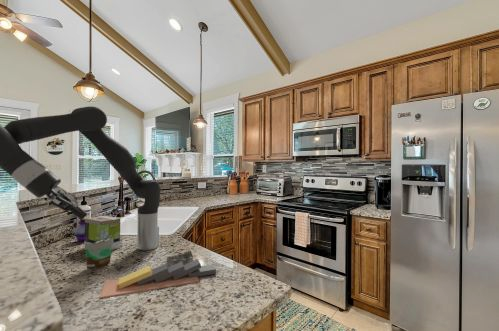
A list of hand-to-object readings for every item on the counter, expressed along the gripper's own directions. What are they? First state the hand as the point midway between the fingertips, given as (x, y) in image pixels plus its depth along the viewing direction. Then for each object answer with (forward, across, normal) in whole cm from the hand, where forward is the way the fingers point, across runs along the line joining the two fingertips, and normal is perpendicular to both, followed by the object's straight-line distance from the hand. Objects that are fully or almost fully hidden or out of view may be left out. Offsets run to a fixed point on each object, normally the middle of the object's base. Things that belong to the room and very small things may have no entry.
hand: (84, 216), depth 80 cm
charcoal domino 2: (+31, 0, +1) cm, 31 cm away
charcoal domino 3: (+35, 0, -3) cm, 35 cm away
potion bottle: (+8, +66, +26) cm, 71 cm away
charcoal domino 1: (+27, 0, +5) cm, 28 cm away
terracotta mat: (+31, 0, +3) cm, 31 cm away
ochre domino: (+23, 0, +9) cm, 25 cm away
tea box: (+16, +49, +18) cm, 54 cm away
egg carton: (+39, +14, -5) cm, 42 cm away
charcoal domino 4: (+39, 0, -7) cm, 39 cm away
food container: (+19, +24, +16) cm, 34 cm away
